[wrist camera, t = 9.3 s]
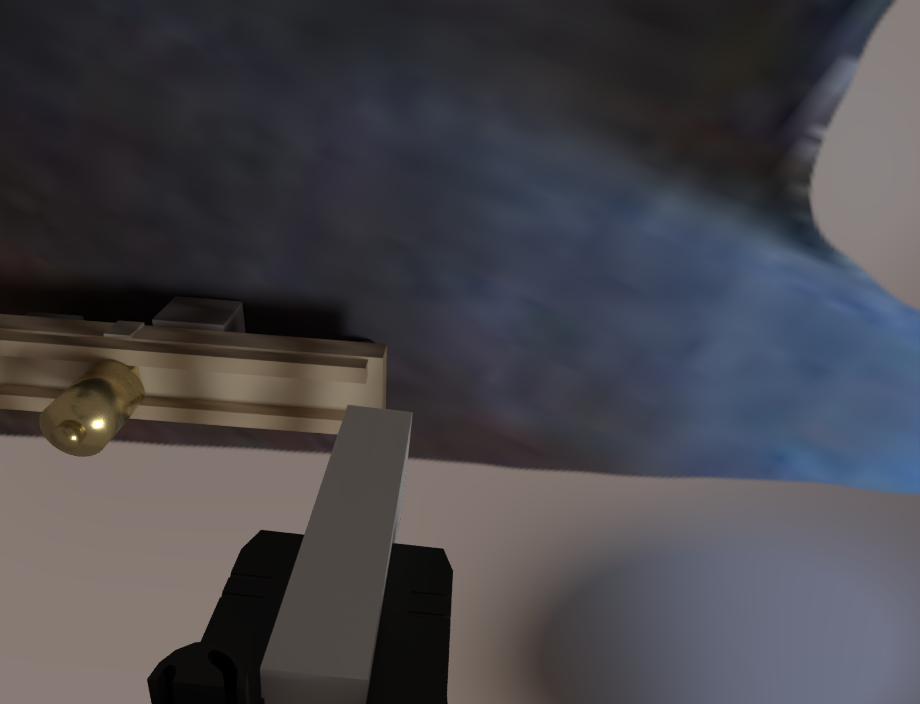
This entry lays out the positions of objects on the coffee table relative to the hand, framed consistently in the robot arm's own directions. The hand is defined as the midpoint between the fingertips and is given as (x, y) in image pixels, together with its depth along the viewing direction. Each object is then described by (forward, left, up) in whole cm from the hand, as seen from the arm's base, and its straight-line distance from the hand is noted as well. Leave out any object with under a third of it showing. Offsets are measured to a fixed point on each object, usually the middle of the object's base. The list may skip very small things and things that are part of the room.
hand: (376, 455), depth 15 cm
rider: (+3, -26, -25) cm, 36 cm away
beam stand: (+5, -22, -31) cm, 39 cm away
